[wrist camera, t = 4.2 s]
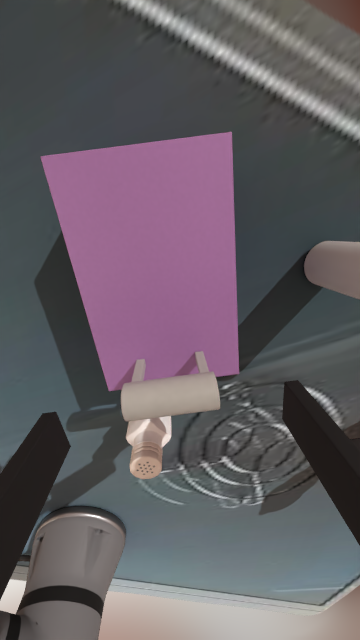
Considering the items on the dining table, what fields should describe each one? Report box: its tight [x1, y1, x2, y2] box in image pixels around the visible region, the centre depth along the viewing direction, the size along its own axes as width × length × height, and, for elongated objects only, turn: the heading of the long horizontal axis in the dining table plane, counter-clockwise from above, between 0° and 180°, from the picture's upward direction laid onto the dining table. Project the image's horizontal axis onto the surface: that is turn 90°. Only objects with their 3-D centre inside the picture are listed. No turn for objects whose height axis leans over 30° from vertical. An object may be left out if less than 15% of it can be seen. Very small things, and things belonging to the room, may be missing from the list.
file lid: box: [41, 132, 239, 422], centre depth 14 cm, size 18×12×7 cm
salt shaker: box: [126, 416, 171, 479], centre depth 26 cm, size 4×4×10 cm
